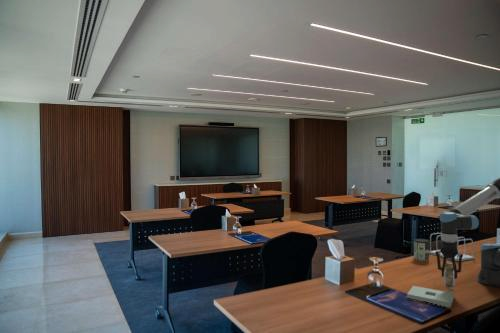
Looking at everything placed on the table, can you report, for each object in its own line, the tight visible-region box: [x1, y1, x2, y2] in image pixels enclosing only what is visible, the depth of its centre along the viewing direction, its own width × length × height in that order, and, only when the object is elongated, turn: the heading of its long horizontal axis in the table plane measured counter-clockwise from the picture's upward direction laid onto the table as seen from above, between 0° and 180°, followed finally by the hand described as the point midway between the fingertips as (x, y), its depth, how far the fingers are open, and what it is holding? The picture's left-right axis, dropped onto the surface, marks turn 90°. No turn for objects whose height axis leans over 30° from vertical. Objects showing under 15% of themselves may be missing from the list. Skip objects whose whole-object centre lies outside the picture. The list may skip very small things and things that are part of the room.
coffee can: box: [413, 238, 430, 262], centre depth 261 cm, size 10×10×14 cm
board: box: [406, 285, 455, 308], centre depth 188 cm, size 20×15×2 cm
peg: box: [445, 261, 454, 292], centre depth 194 cm, size 5×5×14 cm
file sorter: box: [429, 232, 475, 262], centre depth 269 cm, size 25×17×16 cm
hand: (449, 283), depth 194 cm, fingers closed on peg, 3 cm apart
